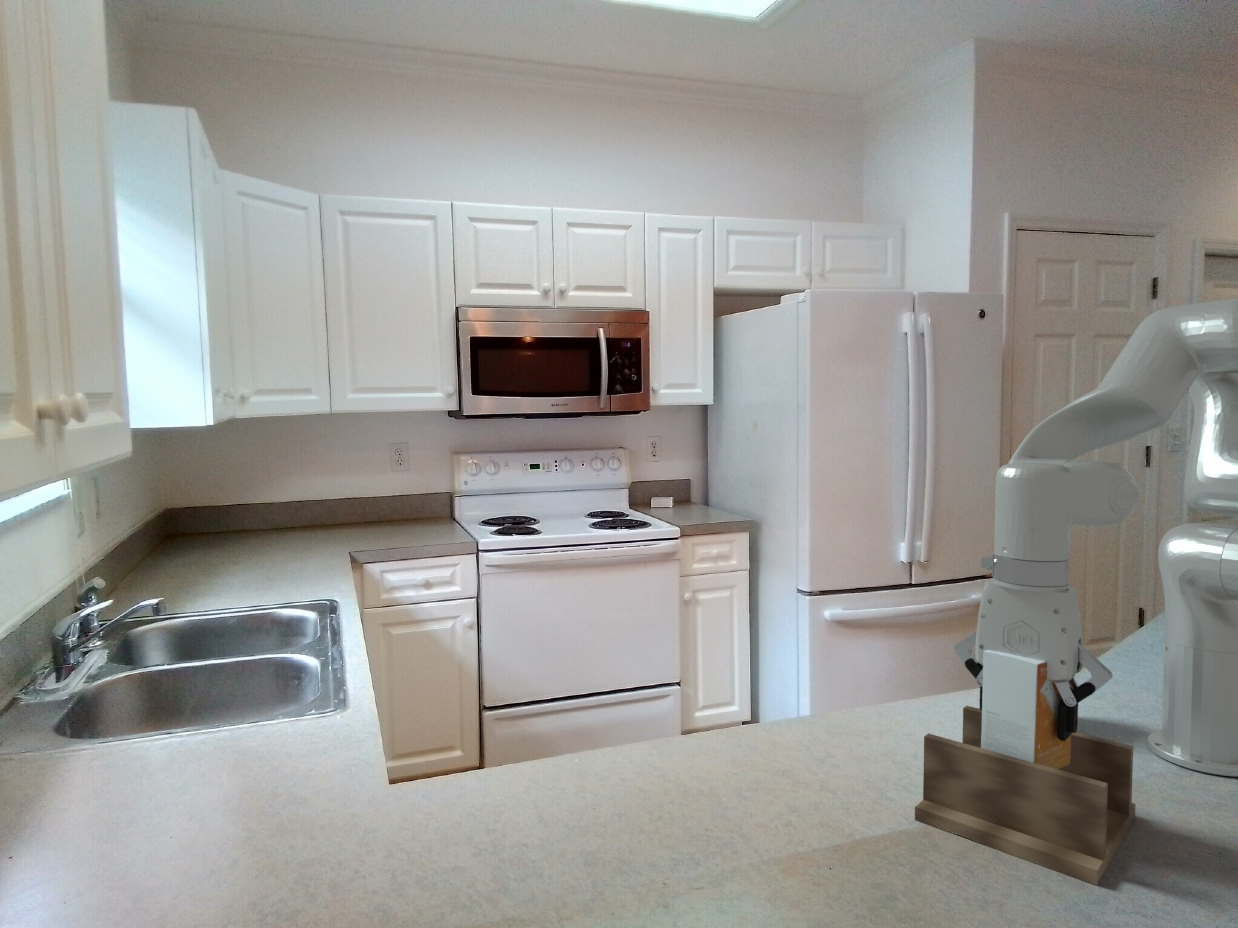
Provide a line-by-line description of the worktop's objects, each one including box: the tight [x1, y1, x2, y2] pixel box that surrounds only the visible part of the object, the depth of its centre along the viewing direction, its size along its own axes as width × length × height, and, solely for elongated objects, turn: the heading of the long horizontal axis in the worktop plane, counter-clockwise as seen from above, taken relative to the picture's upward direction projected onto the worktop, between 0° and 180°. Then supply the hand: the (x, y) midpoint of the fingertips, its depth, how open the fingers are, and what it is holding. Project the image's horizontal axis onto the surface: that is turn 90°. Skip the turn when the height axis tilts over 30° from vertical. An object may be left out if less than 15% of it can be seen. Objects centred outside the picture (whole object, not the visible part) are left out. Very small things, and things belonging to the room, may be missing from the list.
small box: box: [981, 650, 1071, 769], centre depth 86 cm, size 8×6×13 cm
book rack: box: [914, 705, 1137, 886], centre depth 86 cm, size 18×18×9 cm
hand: (1026, 726), depth 86 cm, fingers closed on small box, 7 cm apart
